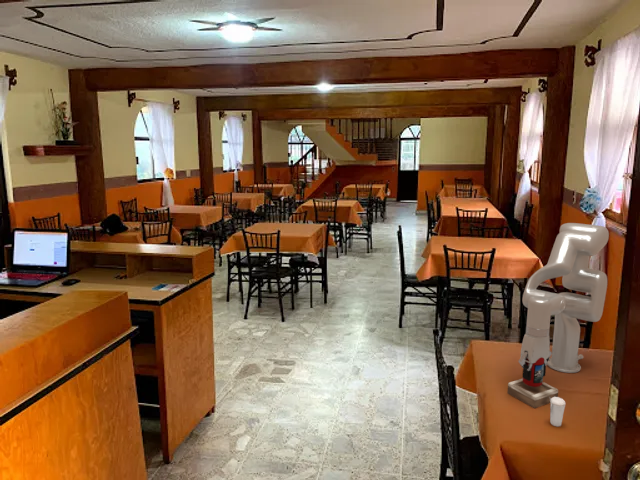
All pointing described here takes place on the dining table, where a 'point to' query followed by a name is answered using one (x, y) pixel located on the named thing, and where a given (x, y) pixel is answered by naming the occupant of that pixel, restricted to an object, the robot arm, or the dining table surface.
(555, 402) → the milkshake
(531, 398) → the white square tray
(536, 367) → the beverage can
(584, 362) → the dining table surface
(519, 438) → the dining table surface
